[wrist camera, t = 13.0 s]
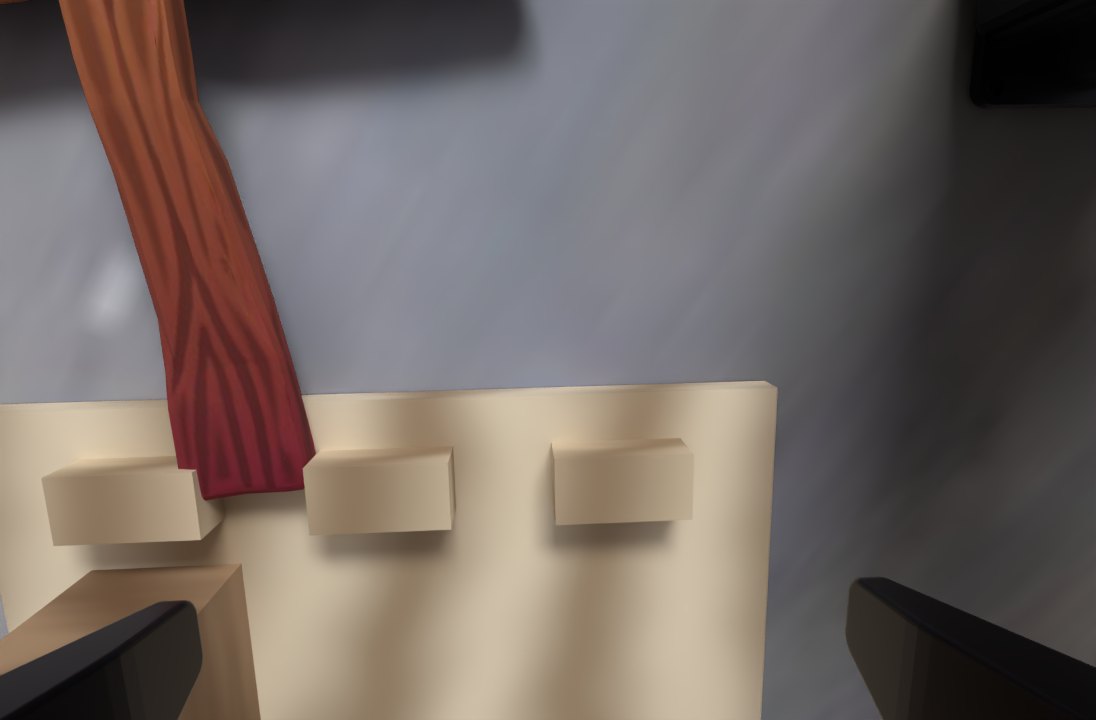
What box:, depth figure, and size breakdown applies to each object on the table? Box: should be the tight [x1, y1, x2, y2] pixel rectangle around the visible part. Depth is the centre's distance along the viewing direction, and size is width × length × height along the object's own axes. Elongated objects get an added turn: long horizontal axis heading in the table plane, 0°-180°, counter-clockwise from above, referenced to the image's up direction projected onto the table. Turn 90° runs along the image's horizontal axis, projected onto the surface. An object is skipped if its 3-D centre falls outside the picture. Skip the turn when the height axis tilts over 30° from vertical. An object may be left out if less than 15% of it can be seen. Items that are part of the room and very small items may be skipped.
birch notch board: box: [0, 381, 778, 720], centre depth 20 cm, size 24×19×3 cm
